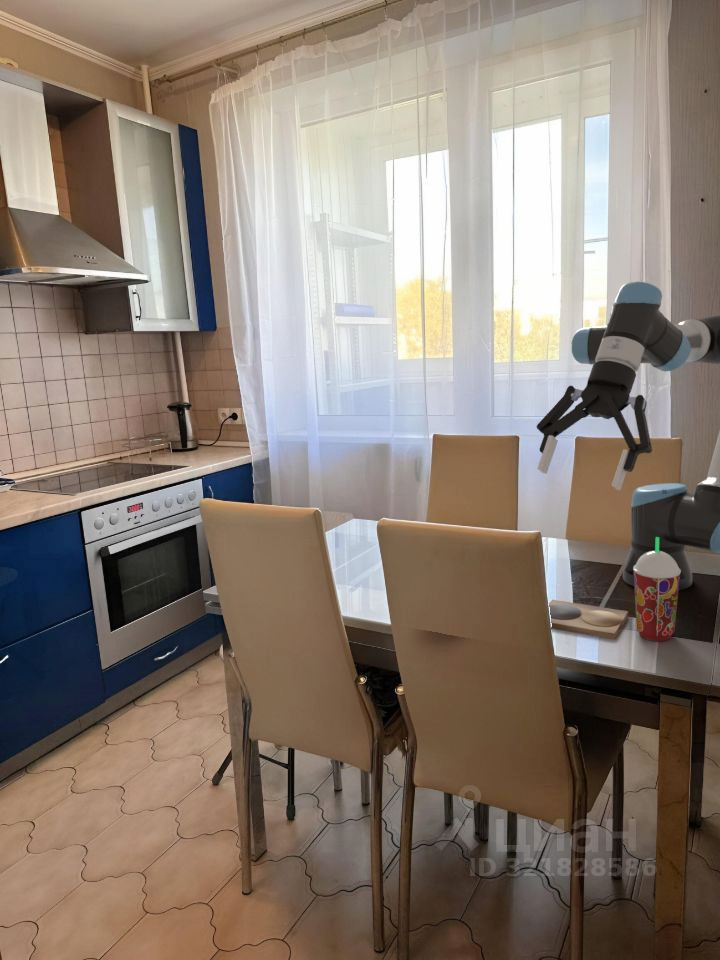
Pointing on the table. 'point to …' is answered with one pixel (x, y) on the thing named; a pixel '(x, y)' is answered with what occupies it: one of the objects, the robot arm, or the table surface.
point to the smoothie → (656, 594)
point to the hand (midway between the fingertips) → (577, 479)
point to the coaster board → (587, 619)
